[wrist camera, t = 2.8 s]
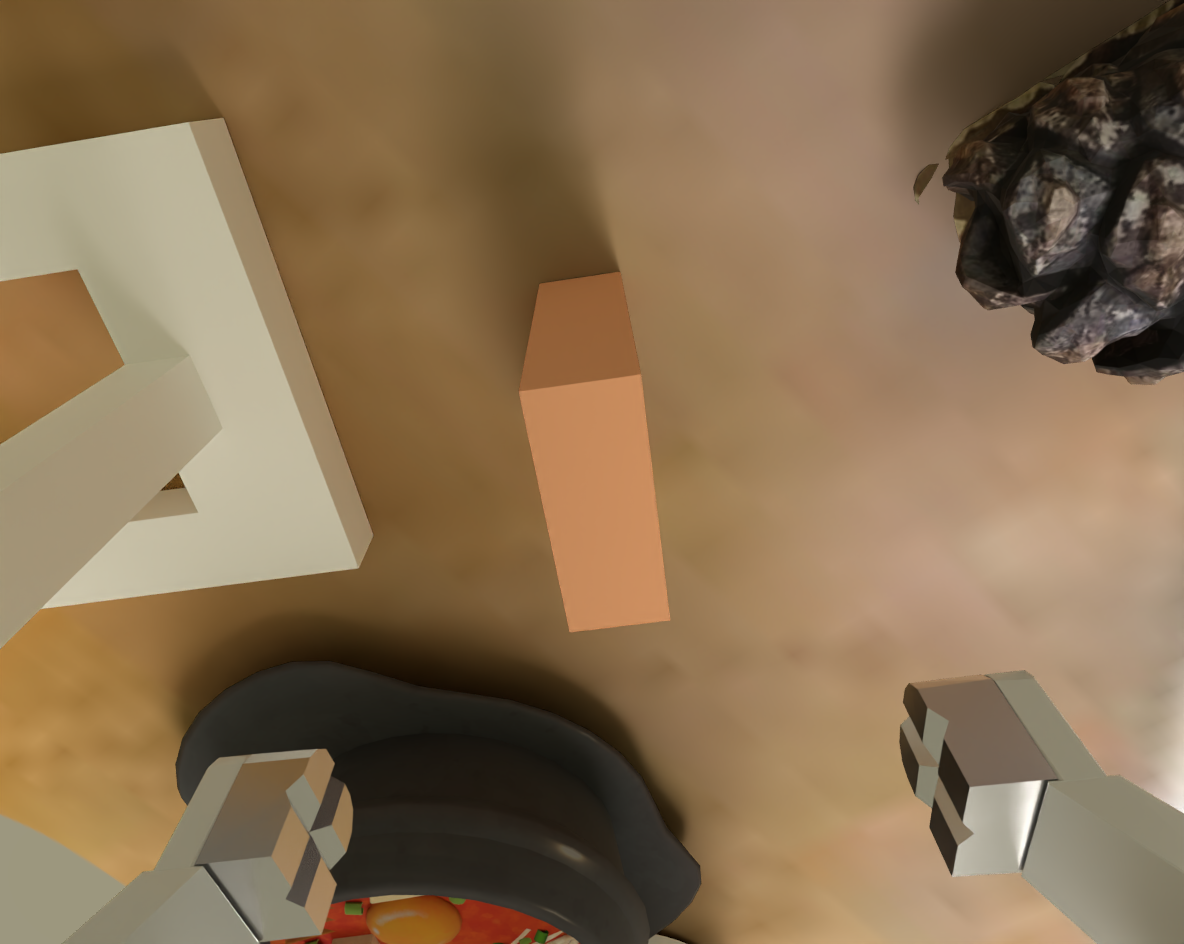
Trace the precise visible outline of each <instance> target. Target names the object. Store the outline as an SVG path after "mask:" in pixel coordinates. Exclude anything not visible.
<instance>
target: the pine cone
mask: <svg viewBox="0 0 1184 944" xmlns="http://www.w3.org/2000/svg"><path fill="white" fill-rule="evenodd" d="M1063 75H1064V76H1063ZM1058 76H1063V78H1062V79H1061V81H1060V84H1059V85H1058V86H1056V87H1055V86H1054V85H1053V84H1048V83H1044V82H1039V83H1038V84H1036V85H1035V86H1033V87H1032V88H1031V89H1029V90H1028V91H1026V92H1025V93H1024V94H1022V95H1021V96H1019V97H1018V98H1016V99H1014V100H1012V101H1010V102H1008V103H1006V104H1005V105H1003V106H1001V107H1000V108H998V109H996V110H995V111H993V112H991V113H990V114H988V115H986V116H985V117H983V118H981V119H980V120H978V121H977V122H975V123H973V124H972V125H970V126H968V127H967V128H965V129H964V130H963V131H962V132H961V133H960V135H959V136H958V137H957V139H956V140H955V141H954V142H953V144H952V145H951V146H950V148H949V151H948V153H947V156H946V159H949V169H948V171H947V172H946V173H945V174H944V176H943V177H942V178H943V185H944V186H947V188H948V190H951V191H953V192H956V200H955V207H954V215H953V217H954V221H955V226H956V230H957V234H958V238H959V242H960V243H961V244H960V249H959V255H958V260H957V266H956V271H955V273H956V275H957V277H958V279H959V281H960V283H961V285H962V287H963V288H964V289H965V290H967V291H968V292H969V293H970V294H971V295H972V296H973V297H974V298H975V299H976V300H977V302H978V303H979V304H980V305H981V306H982V307H983V308H985V309H987V310H992V309H998V308H1005V307H1011V306H1017V305H1021V306H1022V307H1023V308H1024V309H1026V310H1027V311H1028V312H1029V313H1031V314H1034V316H1035V321H1034V325H1033V328H1032V331H1031V340H1032V346H1033V348H1035V349H1036V350H1037V351H1038V352H1040V353H1041V354H1042V355H1045V356H1047V357H1049V358H1052V359H1054V360H1056V361H1058V362H1060V363H1063V364H1068V363H1076V362H1084V361H1086V360H1088V359H1090V358H1092V360H1093V363H1094V366H1095V368H1096V371H1097V372H1098V373H1104V374H1110V375H1117V376H1124V377H1125V378H1126V379H1127V381H1128V382H1129V383H1130V384H1140V385H1156V384H1157V383H1158V382H1159V381H1161V380H1162V379H1163V378H1165V377H1166V376H1170V375H1174V374H1177V373H1181V372H1184V0H1169V1H1168V2H1166V3H1165V4H1163V5H1162V6H1160V7H1158V8H1157V9H1155V10H1154V11H1152V12H1151V13H1149V14H1148V15H1146V16H1144V17H1143V18H1141V19H1140V20H1138V21H1137V22H1135V23H1133V24H1132V25H1130V26H1129V27H1127V28H1126V29H1124V30H1122V31H1121V32H1119V33H1118V34H1116V35H1114V36H1113V37H1111V38H1109V39H1108V40H1106V41H1105V42H1103V43H1101V44H1100V45H1098V46H1096V47H1095V48H1093V49H1092V50H1090V51H1088V52H1087V53H1085V54H1084V55H1082V56H1080V57H1079V58H1077V59H1075V60H1074V61H1072V62H1071V63H1069V64H1067V65H1066V66H1064V67H1063V68H1061V69H1059V70H1058V71H1056V72H1055V73H1053V74H1051V75H1050V76H1048V77H1047V78H1045V79H1043V80H1046V79H1050V78H1054V77H1058ZM938 165H939V164H932V165H928V166H927V167H926V168H925V169H924V170H923V171H922V172H921V173H920V174H919V175H918V178H917V180H916V183H915V185H914V195H915V201H916V202H917V203H918V204H919V196H920V195H921V193H922V192H923V190H924V189H925V187H926V186H927V184H928V183H929V181H930V179H931V178H932V176H933V174H934V172H935V170H936V168H937V167H938Z"/></svg>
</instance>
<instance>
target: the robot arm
mask: <svg viewBox="0 0 1184 944" xmlns="http://www.w3.org/2000/svg"><path fill="white" fill-rule="evenodd" d="M903 704H904V706H905V708H906V710H907V712H908V714H909V717H908V718H907V719H906V720H905V721H904V722H903V723H902V724H901V725H900V741H899V743H900V749H901V755H902V762H903V765H904V768H905V771H906V774H907V777H908V780H909V782H910V785H911V787H912V789H913V792H914V794H915V796H916V797H918V798H919V799H920V800H921V801H923V802H924V803H925V804H927V805H928V806H929V807H931V808H932V813H931V820H930V830H931V832H932V834H933V836H934V838H935V840H936V843H937V845H938V847H939V849H940V851H941V854H942V856H943V858H944V860H945V862H946V864H947V867H948V869H949V871H950V873H951V875H952V877H958V876H973V875H989V874H1005V873H1021V872H1022V877H1023V878H1024V879H1025V880H1026V881H1027V882H1029V883H1030V884H1031V885H1032V886H1033V887H1034V888H1035V889H1036V890H1038V891H1039V892H1040V893H1041V894H1042V895H1043V896H1044V897H1045V898H1047V899H1048V900H1049V901H1050V902H1051V903H1052V904H1053V905H1054V906H1055V907H1057V908H1058V909H1059V910H1060V911H1061V912H1062V913H1063V914H1064V915H1066V916H1067V917H1068V918H1069V919H1070V920H1071V921H1072V922H1073V923H1075V924H1076V925H1077V926H1078V927H1079V928H1080V929H1081V930H1082V931H1083V932H1085V933H1086V934H1087V935H1088V936H1089V937H1090V938H1091V939H1092V940H1094V941H1095V942H1096V943H1097V944H1184V813H1182V812H1180V811H1179V810H1177V809H1175V808H1174V807H1172V806H1170V805H1169V804H1167V803H1165V802H1164V801H1162V800H1160V799H1159V798H1157V797H1155V796H1154V795H1152V794H1150V793H1149V792H1147V791H1145V790H1144V789H1142V788H1140V787H1139V786H1137V785H1135V784H1134V783H1132V782H1130V781H1129V780H1127V779H1125V778H1124V777H1122V776H1120V775H1110V776H1107V775H1106V774H1105V773H1104V771H1103V770H1102V769H1101V767H1100V766H1099V764H1098V763H1097V762H1096V760H1095V759H1094V758H1093V756H1092V755H1091V754H1090V752H1089V751H1088V750H1087V748H1086V747H1085V746H1084V744H1083V743H1082V741H1081V740H1080V739H1079V737H1078V736H1077V735H1076V733H1075V732H1074V731H1073V729H1072V728H1071V727H1070V725H1069V724H1068V722H1067V721H1066V720H1065V718H1064V717H1063V716H1062V714H1061V713H1060V712H1059V710H1058V709H1057V708H1056V706H1055V705H1054V704H1053V702H1052V701H1051V699H1050V698H1049V697H1048V695H1047V694H1046V693H1045V691H1044V690H1043V689H1042V687H1041V686H1040V685H1039V683H1038V682H1037V680H1036V679H1035V678H1034V676H1033V675H1031V674H1030V673H1028V672H1026V671H1025V670H1023V671H1013V672H1004V673H995V674H986V675H981V674H980V675H972V676H964V677H955V678H947V679H939V680H931V681H923V682H915V683H909V684H908V685H907V687H906V688H905V691H904V699H903ZM334 764H335V763H334V762H333V760H332V758H331V756H330V755H329V753H328V751H327V750H326V749H312V750H299V751H287V752H275V753H262V754H252V755H242V756H231V757H221V758H218V759H217V760H216V761H215V762H214V763H213V764H211V765H210V766H209V767H208V769H207V770H206V772H205V774H204V776H203V778H202V780H201V782H200V784H199V785H198V787H197V789H196V791H195V793H194V795H193V797H192V799H191V801H190V802H189V804H188V806H187V808H186V810H185V812H184V814H183V816H182V818H181V819H180V821H179V823H178V825H177V827H176V829H175V831H174V833H173V834H172V836H171V838H170V840H169V842H168V844H167V846H166V848H165V850H164V851H163V853H162V855H161V857H160V859H159V861H158V863H157V865H156V867H155V868H154V870H153V871H145V872H142V873H141V874H140V875H139V876H138V877H136V878H135V879H134V880H133V881H132V882H131V883H130V884H129V885H127V886H126V887H125V888H124V889H123V890H122V891H121V892H120V893H118V894H117V895H116V896H115V897H114V898H113V899H112V900H111V901H109V902H108V903H107V904H106V905H105V906H104V907H103V908H102V909H100V910H99V911H98V912H97V913H96V914H95V915H94V916H92V917H91V918H90V919H89V920H88V921H87V922H86V923H85V924H83V925H82V926H81V927H80V928H79V929H78V930H77V931H76V932H75V933H73V934H72V935H71V936H70V937H69V938H68V939H67V940H65V941H64V942H63V943H62V944H260V943H259V942H266V941H274V940H283V939H291V938H299V937H307V936H315V935H322V932H323V928H324V925H325V922H326V918H327V915H328V912H329V908H330V905H331V902H332V898H333V895H334V892H335V889H336V885H337V884H336V881H335V879H334V876H333V874H332V871H331V868H332V867H333V866H334V865H335V864H336V863H337V862H338V861H339V860H340V859H341V858H342V856H343V855H344V854H345V853H346V851H347V848H348V844H349V840H350V837H351V833H352V821H353V806H352V801H351V796H350V793H349V791H348V789H347V787H346V785H345V783H343V782H341V781H339V780H338V779H336V778H334V777H333V776H331V773H332V770H333V767H334ZM648 944H686V943H683V942H681V941H678V940H675V939H672V938H669V937H665V936H661V935H656V934H655V935H654V936H653V937H651V938H650V939H649V942H648Z"/></svg>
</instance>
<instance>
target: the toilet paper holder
mask: <svg viewBox="0 0 1184 944" xmlns="http://www.w3.org/2000/svg"><path fill="white" fill-rule="evenodd" d="M76 269H78V271H79V273H80V275H81V277H82V279H83V281H84V283H85V285H86V287H87V289H88V291H89V293H90V295H91V298H92V300H93V302H94V304H95V306H96V308H97V310H98V312H99V314H100V316H101V318H102V320H103V322H104V324H105V326H106V328H107V330H108V332H109V334H110V336H111V338H112V340H113V342H114V344H115V346H116V348H117V350H118V352H119V354H120V356H121V358H122V360H123V362H124V364H125V365H124V366H122V367H121V368H119V369H118V370H116V371H114V372H113V373H111V374H110V375H108V376H107V377H105V378H103V379H102V380H100V381H99V382H97V383H96V384H94V385H92V386H91V387H89V388H88V389H86V390H85V391H83V392H82V393H80V394H78V395H77V396H75V397H74V398H72V399H71V400H69V401H67V402H66V403H64V404H63V405H61V406H60V407H58V408H56V409H55V410H53V411H52V412H50V413H49V414H47V415H45V416H44V417H42V418H41V419H39V420H38V421H36V422H35V423H33V424H31V425H30V426H28V427H27V428H25V429H24V430H22V431H20V432H19V433H17V434H16V435H14V436H13V437H11V438H9V439H8V440H6V441H5V442H3V443H2V444H0V649H1V648H2V647H3V646H4V645H5V644H6V643H7V642H8V641H9V640H10V639H11V638H12V637H13V636H14V635H15V634H16V633H17V632H18V631H19V630H20V629H21V628H22V627H23V626H24V625H25V624H26V623H27V622H28V621H29V620H30V619H31V618H32V617H33V616H34V615H35V614H36V613H37V612H38V611H39V610H40V609H45V608H53V607H60V606H68V605H76V604H84V603H92V602H99V601H107V600H115V599H123V598H131V597H138V596H146V595H154V594H162V593H170V592H177V591H185V590H193V589H201V588H209V587H216V586H224V585H232V584H240V583H248V582H255V581H263V580H271V579H279V578H287V577H295V576H302V575H310V574H318V573H326V572H334V571H341V570H349V569H357V568H359V567H360V564H361V562H362V560H363V558H364V556H365V553H366V551H367V549H368V547H369V544H370V542H371V540H372V538H373V536H374V535H373V533H372V530H371V527H370V524H369V521H368V519H367V516H366V513H365V510H364V507H363V505H362V502H361V499H360V496H359V494H358V491H357V488H356V485H355V482H354V480H353V477H352V474H351V471H350V468H349V466H348V463H347V460H346V457H345V455H344V452H343V449H342V446H341V443H340V441H339V438H338V435H337V432H336V430H335V427H334V424H333V421H332V418H331V416H330V413H329V410H328V407H327V404H326V402H325V399H324V396H323V393H322V391H321V388H320V385H319V382H318V379H317V377H316V374H315V371H314V368H313V365H312V363H311V360H310V357H309V354H308V352H307V349H306V346H305V343H304V340H303V338H302V335H301V332H300V329H299V326H298V324H297V321H296V318H295V315H294V313H293V310H292V307H291V304H290V301H289V299H288V296H287V293H286V290H285V287H284V285H283V282H282V279H281V276H280V274H279V271H278V268H277V265H276V262H275V260H274V257H273V254H272V251H271V249H270V246H269V243H268V240H267V237H266V235H265V232H264V229H263V226H262V223H261V221H260V218H259V215H258V212H257V210H256V207H255V204H254V201H253V198H252V196H251V193H250V190H249V187H248V184H247V182H246V179H245V176H244V173H243V171H242V168H241V165H240V162H239V159H238V157H237V154H236V151H235V148H234V145H233V143H232V140H231V137H230V134H229V132H228V129H227V126H226V123H225V120H224V118H218V119H210V120H202V121H194V122H186V123H180V124H174V125H168V126H162V127H157V128H151V129H145V130H139V131H133V132H127V133H121V134H115V135H109V136H103V137H97V138H91V139H85V140H79V141H74V142H68V143H62V144H56V145H50V146H44V147H38V148H32V149H26V150H20V151H14V152H8V153H2V154H0V281H6V280H12V279H19V278H25V277H31V276H38V275H44V274H50V273H57V272H63V271H69V270H76ZM177 473H179V475H180V477H181V479H182V481H183V483H184V485H185V487H186V488H179V489H171V490H164V491H160V490H161V489H162V488H163V487H164V486H165V485H166V484H167V483H168V482H169V481H170V480H171V479H172V478H173V477H174V476H175V475H176V474H177Z"/></svg>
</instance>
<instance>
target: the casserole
mask: <svg viewBox="0 0 1184 944" xmlns="http://www.w3.org/2000/svg"><path fill="white" fill-rule="evenodd" d="M312 749H326V750H327V751H328V753H329V755H330V756H331V758H332V760H333V762H334V763H335V764H334V767H333V770H332V773H331V776H333V777H334V778H336V779H338V780H339V781H341V782H343V783H345V785H346V787H347V789H348V791H349V793H350V796H351V801H352V806H353V821H352V833H351V837H350V840H349V844H348V848H347V851H346V853H345V854H344V855H343V856H342V858H341V859H340V860H339V861H338V862H337V863H336V864H335V865H334V866H333V867H332V868H331V871H332V874H333V876H334V879H335V881H336V884H337V885H336V889H335V892H334V895H333V898H332V902H331V905H330V908H329V912H328V915H327V918H326V922H325V925H324V928H323V932H322V935H315V936H307V937H299V938H291V939H283V940H274V941H266V942H259V943H260V944H648V942H649V939H650V938H651V937H653V936H654V935H655V934H657V933H658V932H659V931H661V930H662V929H664V928H665V927H666V926H668V925H669V924H670V923H672V922H673V921H674V920H675V919H676V918H677V917H678V916H679V915H680V914H681V913H682V912H683V911H684V910H685V909H686V908H687V907H688V905H689V904H690V903H691V902H692V901H693V899H694V897H695V895H696V893H697V891H698V889H699V887H700V885H701V872H700V865H699V864H698V863H697V862H696V861H695V859H694V858H693V857H692V856H691V855H690V854H689V852H688V851H687V850H686V849H685V848H684V846H683V845H682V844H681V843H680V842H679V841H678V839H677V838H676V837H675V836H674V835H673V834H672V832H671V831H670V830H669V829H668V828H667V827H666V825H665V823H664V820H663V818H662V816H661V814H660V812H659V810H658V808H657V806H656V804H655V802H654V800H653V798H652V796H651V794H650V792H649V790H648V788H647V786H646V784H645V782H644V780H643V778H642V777H641V775H640V774H639V773H638V772H637V771H636V770H635V769H634V768H633V766H632V765H631V764H630V763H629V762H628V761H627V760H626V759H625V758H624V756H623V755H622V754H621V753H620V752H618V751H617V750H616V749H614V748H613V747H612V746H610V745H609V744H608V743H606V742H605V741H603V740H602V739H601V738H599V737H598V736H597V735H595V734H594V733H593V732H591V731H589V730H587V729H585V728H583V727H581V726H579V725H577V724H575V723H573V722H571V721H569V720H567V719H565V718H563V717H561V716H559V715H557V714H555V713H552V712H549V711H545V710H542V709H539V708H536V707H533V706H529V705H526V704H523V703H520V702H516V701H513V700H508V699H502V698H495V697H489V696H482V695H475V694H469V693H462V692H455V691H449V690H442V689H435V688H428V687H421V686H417V685H414V684H411V683H407V682H404V681H401V680H397V679H394V678H391V677H388V676H384V675H381V674H378V673H374V672H371V671H367V670H363V669H359V668H355V667H352V666H348V665H344V664H340V663H336V662H332V661H298V662H289V663H286V664H282V665H279V666H276V667H272V668H269V669H266V670H262V671H259V672H256V673H255V674H253V675H251V676H249V677H247V678H245V679H244V680H242V681H240V682H238V683H236V684H234V685H233V686H231V687H229V688H227V689H225V690H224V691H223V692H222V693H221V694H220V695H218V696H217V697H216V698H215V699H214V700H213V701H212V702H210V703H209V704H208V705H207V706H206V707H205V708H204V709H202V710H201V711H200V712H199V713H198V715H197V716H196V718H195V720H194V721H193V723H192V724H191V726H190V727H189V729H188V731H187V732H186V734H185V735H184V737H183V739H182V742H181V746H180V750H179V753H178V757H177V761H176V776H177V787H178V790H179V793H180V795H181V798H182V799H183V800H184V802H185V803H186V804H187V806H188V804H189V802H190V801H191V799H192V797H193V795H194V793H195V791H196V789H197V787H198V785H199V784H200V782H201V780H202V778H203V776H204V774H205V772H206V770H207V769H208V767H209V766H210V765H211V764H213V763H214V762H215V761H216V760H217V759H218V758H221V757H231V756H242V755H252V754H262V753H275V752H287V751H299V750H312Z"/></svg>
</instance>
